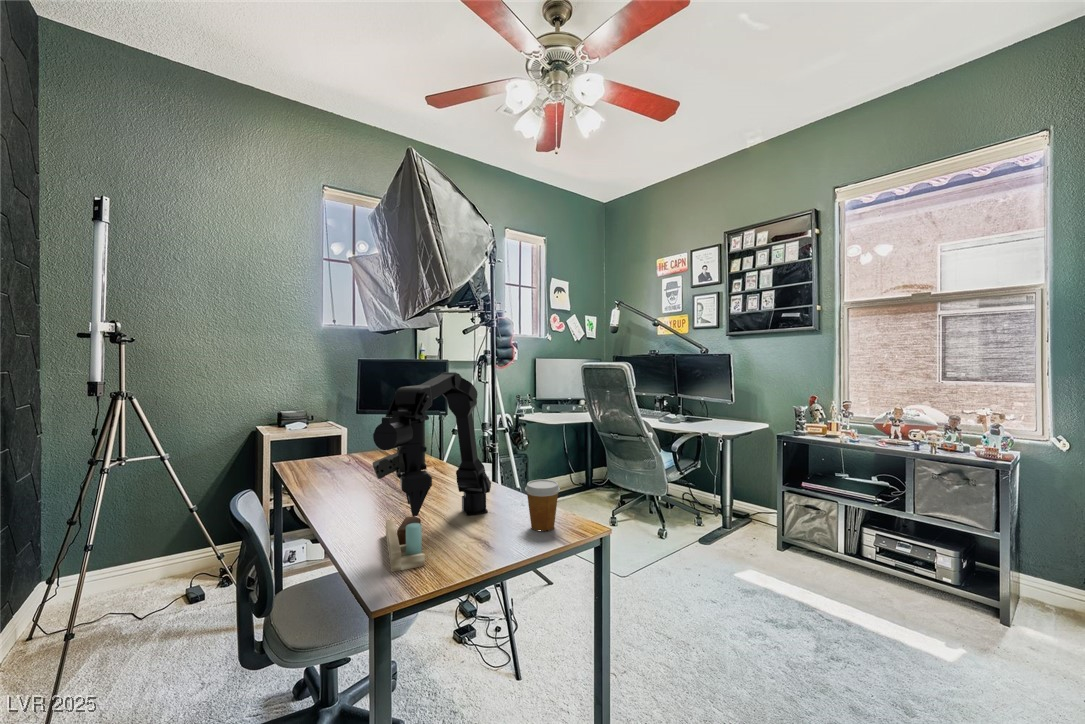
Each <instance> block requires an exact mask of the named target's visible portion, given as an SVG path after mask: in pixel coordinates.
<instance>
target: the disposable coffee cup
mask: <svg viewBox="0 0 1085 724" xmlns="http://www.w3.org/2000/svg"><path fill="white" fill-rule="evenodd" d="M524 489H525V492H526V495H527V496H526V497H527V503H528V510H529V517H530V528H531V527H532V528H533V529H535V530H541V531H545V532H547V531H546V530H550V531H552V530H554V529H555V524H556V523H555V522H556V515H557V506H558V505H557V504H558V496H559V493H560V489H561V488H560V487H559V483H558V482H557V481H555V480H553V479H552V480H551V479H535V480H530V481H528V482H527V483H526V487H525V488H524ZM532 528H531V529H532ZM553 528H554V529H553ZM533 529H532V530H533ZM551 529H552V530H551ZM535 530H534V531H535Z"/></svg>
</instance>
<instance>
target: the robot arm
mask: <svg viewBox="0 0 1085 724" xmlns="http://www.w3.org/2000/svg"><path fill="white" fill-rule="evenodd" d="M441 395H442V397H444V399H446V401H447V406H448V409H449V411H450V412H451V413H452V414H453V415H454V417H455V423H456V432H457V439H458V446H459V447H458V448H459V454H460V464H459V466H458V469H457V470H456V471H455V475H456V484H457V488H458V493H459V492H460V493H461V492H462V493H463V495H462V496H461V510H462V512H463V513H464V514H465V516H473V515H481V514H486V513H487V514H488V513H489V512H488V509H487V493H491V488H492V482H491V480H490V478H489V477H488V474H487V473H486V469H485V465H484V464H483V462H482V461H481V460H480V459H479V456H478V449H477V442H476V441H477V440H476V431H475V425H474V423H475V422H474V414H473V412H474V410H475V408H476V407H477V404H478V400H477V399H478V391H477V388H476V386H475V385H474V384H473V382H470V381H468V380H467V379H465V378H463V377H462V375H460V373H457V372H453V371H452V372H449V371H448V372H446V371H445V372H442V373H440V374H439V375H437V376H435V377H432V378H431V379H428V380H427V381H425V382H423V383H421V384H417V385H409V386H407V385H406V386H401V387H399V388H397V389H396V391H395V393H394V395H393V397H392V400H391V402H390V404H389V407H388V408H387V411H386V413H385V416H384V417H382V418H381V423H379V424H378V425H377V426H376V427H375V429H374V432H373V434H372V439H373V442H374V445H375V446H376V447H377V448H379V450H382V451H390V450H393V449H396V452H395V453H391V454H389V455H386V456H385V457H382V458H379V459H377V460H375V461H373V462H372V468H373V470H374V473H375V476H376V478H377V479H378V480H381V479H383V478H385V476H387V475H390V474H392V473H395V474H396V477H397V478H398V479H400V488H401V491H402V492H403V493H405V496H406V499H407V504H408V505H409V506H410V507H409V508H410V512H411V517H418V516H419V513H420V511H421V508H423V507H422V506H423V504H424V502H425V499H426V497H427V495H428V493H429V490H430V489H431V487H432V486H433V478H432V475H431V474H430V473H429V472H428V471H427V467H428V466H427V464H426V453H427V446H426V421H428V420H429V419H430V416H429V415H428V414H426V412H427V411H428V410H429V408H430V407H432V406H433V400H435V399H436V398H439V397H440V396H441Z"/></svg>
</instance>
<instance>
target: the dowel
mask: <svg viewBox="0 0 1085 724" xmlns="http://www.w3.org/2000/svg"><path fill="white" fill-rule="evenodd" d="M422 529H423V527H422V523H421V524H420V523H411V524H408V525H406V556H409V555H415V554H420V553H423V551H422V550H423V549H422V548H423V547H422V544H423V543H422Z"/></svg>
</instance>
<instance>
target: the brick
mask: <svg viewBox="0 0 1085 724" xmlns="http://www.w3.org/2000/svg"><path fill="white" fill-rule="evenodd" d="M421 521H422V519H421V518H420V517H418V516H415V517H413V516H406V517H405V518H404V519H403V520H402V522H401V524H400V525H399V527H398V529H396V531H397V536H398V540H399V545H404V544H406V525H408V524H411V523H420V524H421V525H422V523H421Z"/></svg>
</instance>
